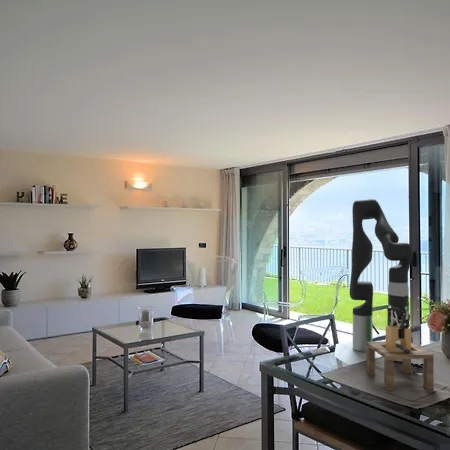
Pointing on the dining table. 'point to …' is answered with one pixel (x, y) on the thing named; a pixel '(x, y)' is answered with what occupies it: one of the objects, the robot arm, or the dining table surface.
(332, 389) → the dining table surface
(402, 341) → the wooden arch block
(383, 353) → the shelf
